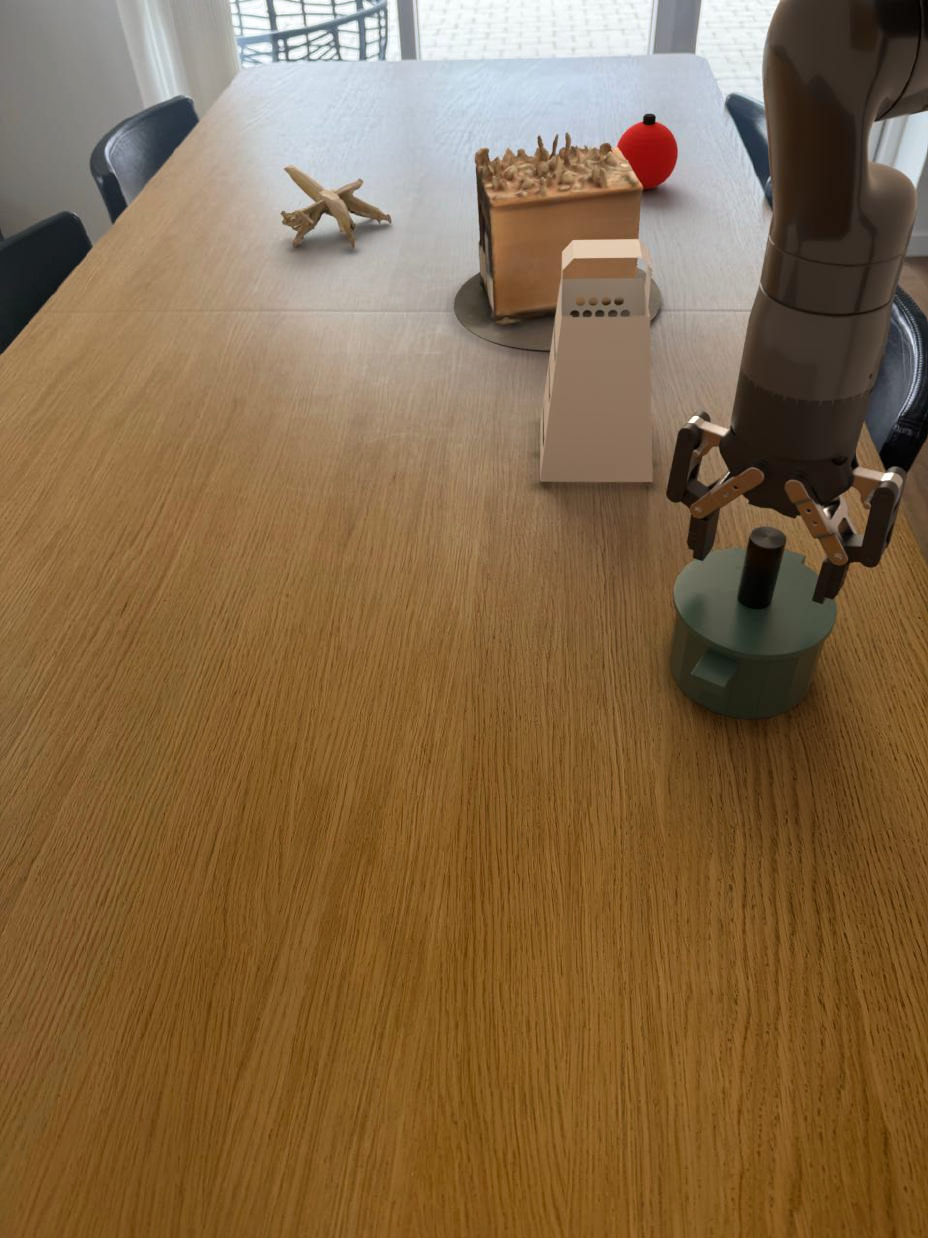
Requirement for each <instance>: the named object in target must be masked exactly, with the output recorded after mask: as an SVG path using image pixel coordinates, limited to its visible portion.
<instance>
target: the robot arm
mask: <svg viewBox="0 0 928 1238" xmlns="http://www.w3.org/2000/svg"><path fill="white" fill-rule="evenodd" d="M762 51H763V52H762V63H761V65H762V66H761V78H762V92H763V93H762V94H763V104H764V112H765V113H764V114H765V115H764V116H765V125H766V136H767V137H766V138H767V149H768V164H769V174H770V175H769V176H770V186H771V199H772V215H771V219H770V223H769V229H768V235H767V240H766V246H765V251H764V257H763V263H762V268H761V273H760V278H759V279H760V280H759V284H758V288H757V291H756V295H755V298H754V301H753V304H752V307H751V310H750V313H749V317H748V322H747V327H746V333H745V337H744V343H743V348H742V355H741V361H740V366H739V372H738V379H737V384H736V390H735V395H734V402H733V407H732V411H731V418H730V425H729V428H727V427H724V426H721V425H718V424H715V423H713V422H711V420H712V419H711V416H710V415H709V413H707V411H704V410H697V411H696V412H694V414H693V415H691V417H690V418H688V420H687V421H686V423H684V424H683V426H681V428H680V429H679V430H678V432H677V437H676V441H675V446H674V450H673V451H674V452H673V456H672V462H671V466H670V471H669V476H668V481H667V486H666V490H665V496H666V498H667V499H668V500H669V501H670V502H671V503H674V504H678V503H681V504H683V505H684V506H686V507H687V508H688V510H689V513H690V519H689V526H688V533H687V538H686V545H687V549H688V550H690V551H692V559H693V560H695V559H697V560H700V561H703V560H704V559H705V558H706V556H707V555H708V554H709V553H710V552H712V550H713V547H714V546H715V542H716V535H717V529H718V523H719V520H720V519H719V518H720V513H721V509H722V508H724V507H725V506H727V505H728V504H730V503H732V502H733V501H734V500H736V499H738V498H739V497H741V496H742V497H743V498H745V499H746V500H748V502H747V504H748V505H750V506H753V507H757V508H760V509H770V510H773V511H775V512H777V513H778V514H781V515H782V516H785V517H788V518H791V519H794V520H796V518H797V517H801V519H802V520H803V522H804V524H805V526H806V528H807V530H808V532H809V533H810V536H811V538H813V539H817V540H818V541H819V543H820V545H821V547H822V549H823V551H824V553H825V557H824V559H823V560H822V562H821V567H820V570H819V574H818V575H819V577H818V581H817V584H816V588H815V591H814V595H813V598H812V601H814V602H817V603H820V604H823V603H824V601H825V600H826V598H829V599H832V600H833V599H834V598H835V599H836V597H837V596H838V595H839V593H840V591H841V589H842V588H843V586H844V584H845V582H846V579H847V575H848V572H849V569H850V565H851V564H852V563H860V564H861V565H862V566H863V567H865V568H870V569H872V568H876V567H878V566H879V564H880V562H881V560H882V556H883V555H884V553H885V552H886V549H888V547H889V545H890V544H891V540H892V537H893V534H894V533H893V532H894V529H895V525H896V521H897V518H898V513H899V509H900V507H901V506H900V505H901V501H902V497H903V493H904V490H905V486H906V482H907V478H908V477H907V476H908V475H907V472H906V471H905V470H904V469H903V468H902V467H900V466H891V467H889V468H888V469H887V470H886V471H885V472H884V471H879V470H875V469H870V468H866V467H861V466H860V464H859V461H858V458H857V449H858V444H859V440H860V436H861V433H862V430H863V426H864V423H865V419H866V416H867V413H868V409H869V405H870V401H871V398H872V396H873V391H874V387H875V384H876V381H877V377H878V374H879V372H880V370H882V367H883V364H884V360H885V356H886V355H885V354H886V351H885V349H886V346H887V341H888V339H889V333H890V326H891V318H892V310H893V304H894V301H895V300H894V299H895V295H896V292H897V288H898V286H899V285H898V284H899V281H900V277H901V275H902V274H901V273H902V270H903V267H904V263H905V260H906V256H907V252H908V249H909V246H910V242H911V238H912V234H913V230H914V227H915V222H916V218H917V213H918V212H917V211H918V192H917V189H916V187H915V185H914V183H913V181H912V180H911V179H910V177H908V175H906V173H903V172H902V171H901V170H899V169H897V168H895V167H892V166H889V165H887V164H884V163H880V162H875V161H870V160H869V142H870V134H871V130H872V127H873V125H874V124H875V123H878V122H883V121H887V120H893V119H897V118H902V117H906V116H911V115H916V114H920V113H925V112H928V0H779V1H778V4H777V6H776V8H775V10H774V12H773V15H772V17H771V19H770V23H769V26H768V29H767V32H766V36H765V41H764V46H763V50H762ZM713 448H718V451H719V454H720V456H721V458H722V460H723V463H724V464H725V466H726V468H727V469H726V471H725V472H724V473H723V474H722V475H721V476H719V477H718V478H716V479H715V480H713V481H712V482H711V483H709V484H707V485H706V484H704V483H702V482H701V481H700V480H698V478H699V474H700V470H701V465H702V461H703V457H705V456H706V455H708V454H709V453H710V451H711V450H712V449H713ZM851 488H854V489H856V490H857V491H858V492H859V494H860V502H861V504H862V506H863V508H864V509H865V510H869V512H868V516H867V520H866V525H865V530H864V533H859V532H858V530H857V529H856V527H855V524H854V523H853V521H852V519H851V517H850V515H849V505H848V502H847V499H846V498H845V496H844V493H846V492H848V491H849V490H850V489H851Z"/></svg>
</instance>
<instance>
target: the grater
mask: <svg viewBox="0 0 928 1238" xmlns="http://www.w3.org/2000/svg"><path fill="white" fill-rule="evenodd" d="M574 258H642V260H644V262H645V263H646V271H645V273H646V282H645V284H644V278H616V279H562V274H563V269H564V268H565V267H566V266H567V265H568V264H569V263H570V262H571V261H572V260H573V259H574ZM652 271H653V268H652V263H651V257H650V251H649V250H648V248H647V247H646V246H645V245H644V243H643V242H642V241H641V239H640V238H639V239H616V240H573V241H572V242H571V243H570V244H569V245H568V246H567V247H566V248H565V249H564V250H563V251H562V270H561V280H560V287H559V294H558V301H557V308H556V315H555V322H554V329H553V337H552V344H551V350H549V358H548V365H547V372H546V379H545V387H544V393H543V399H542V407H541V415H540V421H539V425H540V427H539V429H540V430H539V431H540V432H539V440H540V441H539V482H540V483H653V481H654V480H653V434H652V433H653V425H652V424H653V423H652V421H653V420H652V366H651V365H652V362H651V361H652V359H651V357H652V356H651V355H652V354H651V321H650V314H649V308H648V304H649V294H650V283H651V278H652V273H653V272H652ZM579 297H582V298H584V299H585V304H584V305H582V306H578V305H577V304H576V299H577V298H579ZM591 297H596V298H597V299H598V303H597V304H596V305H594V306H592V305H590V304H589V303H588V301H589V299H590V298H591ZM604 297H609V298H610V299H611V303H610V304H609V305H607V306H605V305H603V304H602V302H601V301H602V299H603V298H604ZM617 297H622V298H623V299H624V302H623V304H622V305H619V306H618V305H616V304H615V303H614V300H615V298H617ZM573 310H577V311H578V312H579V314H580V315H579V317H572V316H573V315H570V313H571V311H573ZM585 310H590V311H591V312H592V316H591V317H583V315H582V314H583V312H584V311H585ZM597 310H603V311H604V316H603V317H596V316H595V312H596V311H597ZM610 310H616V311H617V316H616V317H609V316H608V312H609V311H610ZM623 310H628V311H630V315H629V317H621V315H620V314H621V312H622V311H623Z"/></svg>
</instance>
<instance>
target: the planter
mask: <svg viewBox="0 0 928 1238" xmlns="http://www.w3.org/2000/svg"><path fill="white" fill-rule="evenodd" d="M564 137H565V138H564V139H565V147H564V146H562V147H561V148H560V149H559V150H558V153H557V147H558V142H559V134H558V133H556V134H555V136H554V139H553V141H552V146H551V147H552V148H551V150H552V151H551V154H550V152H549V151H548V149H546V148H545V147H544V142H543V139H542V137H541V135H538V136H537V145H538V147H536V148H535V149H536V150H535V152H534V155H533V156H531V155H528V154H527V153H526V150H525V149H524V148H518V150H517V151H516V152H517V154H515V152H513V150H512V149H511V148H510V147H509V146H508V147H507V148H506V150H505V153H504V155H503V157H502V159H501V158H500V156H498V155H497V156H496V157H495V158H493V160H491V159H490V154H489V152H490V149H489V148H488V147H481V148H479V149H478V150H477V151H476V152H475V154H474V163H475V180H476V196H477V212H478V213H477V214H478V231H479V232H478V233H479V240H478V260H479V261H478V262H479V264H478V265H479V272H477V273H476V274H475V275H473V276H472V277H470V278H469V279H468V280H467V281H465V282H464V283H463V284H462V286H460V288H459V290H458V291H457V292H456V294H455V298H454V301H453V308H454V313H455V316H456V317H457V319H458V321H459V322H460V323H461V324H462V325H463V326H464V327H465V328H466V329H467V330H468V331H470V332H471V333H473V334H474V335H476V336H478V337H480V338H482V339H484V340H486V341H489V342H492V343H494V344H498V345H502V346H506V347H511V348H516V349H524V350H533V351H551V344H552V337H553V329H554V322H555V315H556V308H557V301H558V294H559V287H560V280H561V270H562V251H563V250H564V249H565V248H566V247H567V246H568V245H569V244H570V243H571V242H572V241H573V240H616V239H639V240H640V224H641V223H640V221H641V206H642V194H643V190H644V189H643V186H642V184H641V183H640V181H639V180H638V178H637V176H636V175H635V173H634V171H633V169H632V167H631V165H630V164H629V161H628V160H626V159H625V157H624V156H623V154H622V152H621V151H620V150H619V148H618V147H617V146H616V147H615V146H614V147H613V146H612V145H611V144H610V143H609V142H603V143H601V144H600V145H599V148H598V147H597V146H590V147H588V144H583V147H584V148H581V147H578V145H577V144H575V146H574V145H572V137H571V135H570V134H569V132H565V135H564ZM638 258H639V257H638ZM638 258H574V259H573V260H572V261H571V262H570V263H569V264H568V265H567V266H566V267H565V268H564V269H563V274H562V279H616V278H644V284H645V282H646V271H644V270H642V269H641V268H639V267H638ZM601 302H602V304H603V305H605V306H607V305H609V304H610V303H611V299H610V298H609V297H604V298H603V299H602V301H601ZM623 302H624V299H623V298H622V297H617V298H615V300H614V303H615V304H616V305H618V306H619V305H622V304H623ZM588 303H589V304H590V305H592V306H594V305H596V304H597V303H598V299H597V298H596V297H591V298H590V299H589V301H588ZM661 303H662V294H661V290H660V287H659V285H658V284H657V283H656V281H655V280H654V279H653V278H652V277H651V283H650V294H649V304H648V308H649V314H650V322H651V321H652V320H653V319H654V317H655V316H656V315H657V314H658V312H659V311H660V307H661ZM576 304H577V305H578V306H582V305H584V304H585V299H584V298H582V297H579V298H577V299H576ZM570 315H573V316H572V317H579V315H580V314H579V312H578V311H577V310H573V311H571V313H570ZM582 315H583V317H591V316H592V312H591V311H590V310H585V311H584V312H583V314H582ZM620 315H621V317H629V315H630V311H628V310H623V311H622V312H621V314H620ZM595 316H596V317H603V316H604V311H603V310H597V311H596V312H595ZM608 316H609V317H616V316H617V311H616V310H610V311H609V312H608Z"/></svg>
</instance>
